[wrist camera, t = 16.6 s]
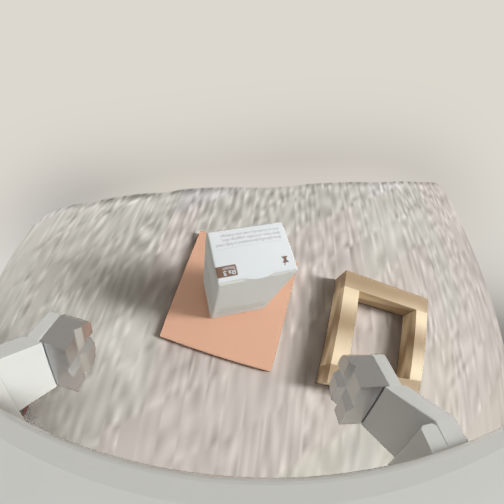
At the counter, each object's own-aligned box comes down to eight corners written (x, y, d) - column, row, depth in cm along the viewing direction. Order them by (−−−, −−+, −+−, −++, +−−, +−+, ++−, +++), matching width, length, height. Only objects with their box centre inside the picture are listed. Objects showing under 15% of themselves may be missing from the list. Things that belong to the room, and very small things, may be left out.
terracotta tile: (269, 371, 30) (270, 371, 29) (160, 336, 29) (159, 335, 28) (295, 265, 36) (297, 263, 35) (200, 233, 35) (200, 230, 34)
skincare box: (254, 273, 33) (284, 215, 22) (264, 311, 32) (303, 269, 21) (200, 282, 32) (204, 226, 21) (208, 322, 30) (217, 285, 19)
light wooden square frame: (403, 397, 30) (418, 396, 28) (315, 382, 30) (326, 382, 27) (414, 305, 36) (427, 299, 34) (335, 279, 36) (346, 270, 33)
